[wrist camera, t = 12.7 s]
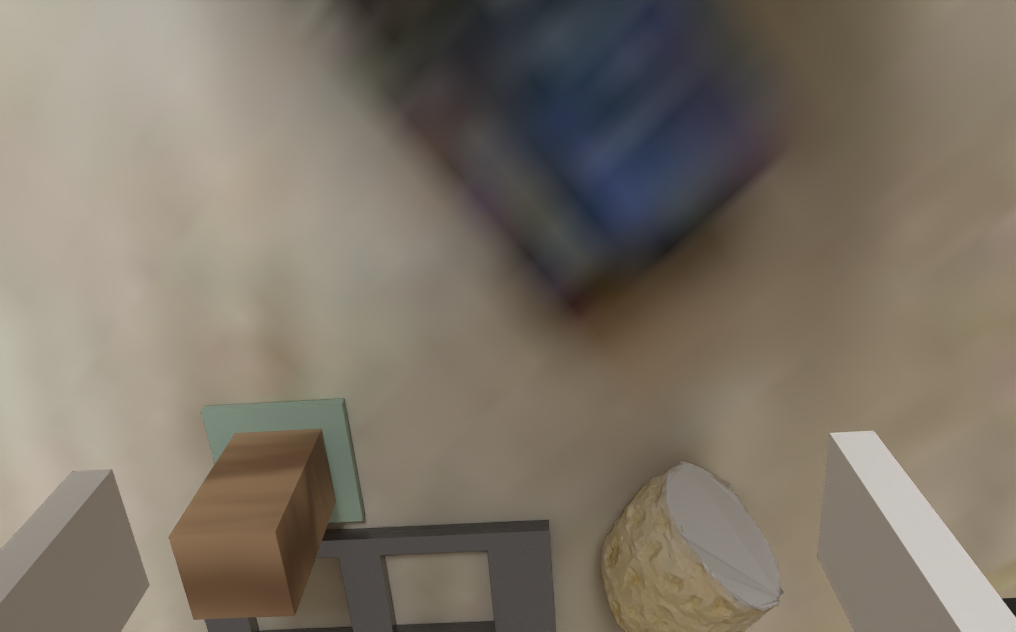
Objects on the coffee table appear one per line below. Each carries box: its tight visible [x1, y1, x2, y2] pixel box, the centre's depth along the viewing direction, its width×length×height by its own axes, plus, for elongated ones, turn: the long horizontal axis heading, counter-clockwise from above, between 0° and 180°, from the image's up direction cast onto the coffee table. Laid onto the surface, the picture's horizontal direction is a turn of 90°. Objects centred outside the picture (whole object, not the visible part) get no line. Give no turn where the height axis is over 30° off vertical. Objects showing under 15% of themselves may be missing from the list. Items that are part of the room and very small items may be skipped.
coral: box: [601, 461, 784, 632], centre depth 43 cm, size 10×10×10 cm
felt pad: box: [201, 399, 365, 523], centre depth 46 cm, size 8×8×1 cm
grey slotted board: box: [205, 520, 556, 632], centre depth 49 cm, size 9×22×1 cm, turn 94°
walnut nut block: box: [169, 428, 336, 620], centre depth 41 cm, size 5×5×9 cm
